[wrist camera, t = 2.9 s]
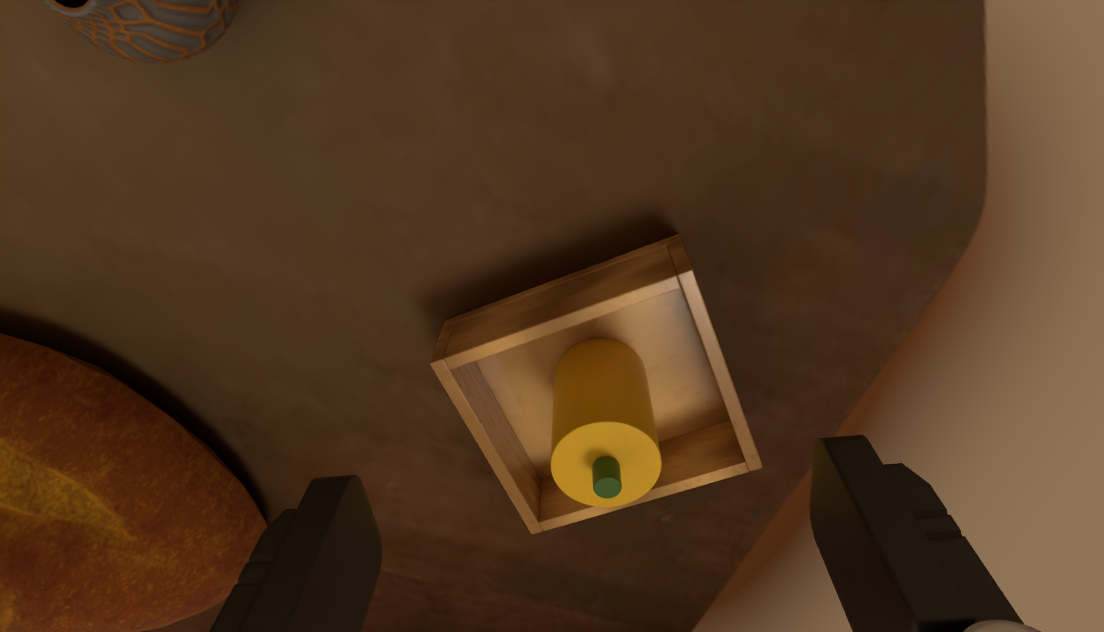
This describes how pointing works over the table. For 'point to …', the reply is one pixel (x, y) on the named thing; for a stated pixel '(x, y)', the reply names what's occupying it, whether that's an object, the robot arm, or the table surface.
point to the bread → (108, 504)
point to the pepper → (603, 425)
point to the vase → (148, 26)
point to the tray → (582, 314)
